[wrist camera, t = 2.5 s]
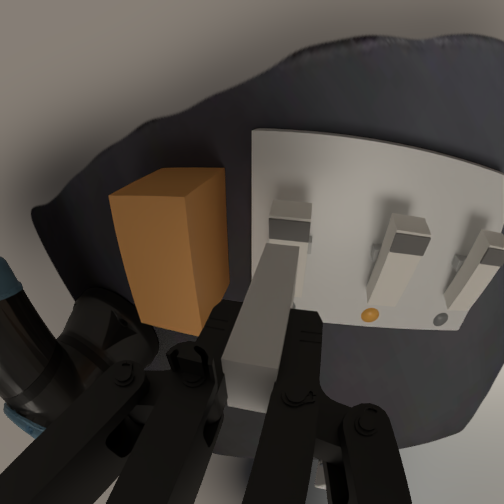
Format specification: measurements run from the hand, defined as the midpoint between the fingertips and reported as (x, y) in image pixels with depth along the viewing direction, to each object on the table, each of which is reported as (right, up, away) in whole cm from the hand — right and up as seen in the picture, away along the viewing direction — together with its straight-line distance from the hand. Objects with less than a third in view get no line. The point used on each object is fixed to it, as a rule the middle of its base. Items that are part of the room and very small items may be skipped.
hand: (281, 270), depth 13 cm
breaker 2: (+9, 0, +6) cm, 11 cm away
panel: (+10, +2, +10) cm, 15 cm away
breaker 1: (+1, +1, +7) cm, 8 cm away
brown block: (-7, +3, +14) cm, 16 cm away
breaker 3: (+17, -1, +4) cm, 18 cm away
